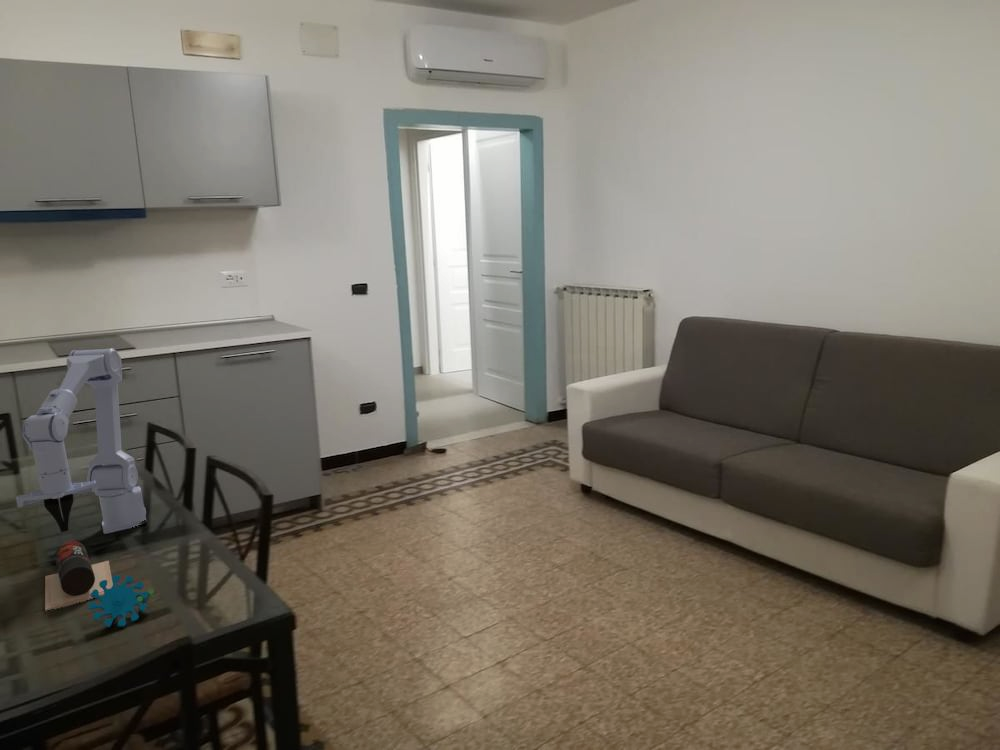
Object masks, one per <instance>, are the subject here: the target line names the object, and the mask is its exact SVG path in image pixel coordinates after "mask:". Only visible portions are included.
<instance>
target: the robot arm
mask: <svg viewBox="0 0 1000 750" xmlns="http://www.w3.org/2000/svg"><path fill="white" fill-rule="evenodd" d="M122 363H123V362H122V357H121V356H120V354H119V353H118V351H117V349H115V348H113V347H110V348H106V349H105V348H104V349H103V348H101V349H100V348H99V349H81V350H78V349H73V350H71V352H70V353H69V354H68V356H67V359H66V369H67V371H66V374H65V375H64V377H63V379H62V382H61V384H60V386H59V388H57V389H53V390H51V391H50V392H49V393H48V395H47V397H46V398H45V400H44V401H43V402H42V404H41V405H40V407H39V409H38V411H36V414H31V415H30V416H29V417H28V418H26V419H25V420H24V422H23V424H22V433H21V435H22V438H23V440H24V441H25V442H26V443H27V446H28V450H29V451H30V452H32V453H33V459H34V464H35V467H36V468H35V469H36V473H37V479H38V483H39V487H40V489H39V490H35V491H31V492H29V493H25V494H20V495H16V498H15V501H16V503H17V508H23V507H25V506H28V505H33V504H38V503H42V502H43V505H44V506H43V507H44V508H45V509H46V510H47V512H49V514H50V515H51V516H52V517H53V519H54V520H55V521H56V523H57V526H58V527H59V530H60V532H61V533H64V532H67V531H69V521H70V520H69V518H70V514H71V509H72V507H73V504H74V496H75V495H81V494H86V493H94V494H95V496H98V499H99V504H100V509H101V515H102V521H101V526H102V531H103V534H104V535H106V534H111V533H116V532H120V531H124V530H129V529H132V527H133V528H136V527H135V526H137V527H139V526H138V525H140V524H139V523H140V522H142V521H144V520H146V521H147V516H146V515H147V510H146V507H145V504H144V499H143V493H142V490H141V489H142V488H141V486H139V485H138V486H136V485H137V484H138V479H139V475H138V469H137V467H136V463H135V458H134V457H133V456H131V455H130V454H129V453H127V452H124V451H123V450H122V435H121V434H122V433H121V432H122V431H121V419H120V401H119V387H118V386H119V385H118V384H119V383H120V382H122V381H123V368H122V367H123V366H122V365H123V364H122ZM86 384H87V385H89V386H90V387H91V388H93V390H94V403H95V405H94V406H95V420H96V423H95V424H96V436H97V437H96V439H97V449H98V450H97V455H95V456H94V457H93V458H92V459H91V460H90V461H89V462H88V472H87V476H86V481H83V482H72V478H71V473H70V466H69V462H68V461H69V460H68V457H67V451H66V447H65V440H64V439H65V438H66V437H67V435H68V432H69V431H68V430H69V428H68V427H69V424H70V420H69V419H70V417H71V415H72V413H73V412H74V411H75V408H77V405H78V399H77V397H76V396H77V395H78V394H79V392H80V391H81V390H82V388H83V387H84V386H85V385H86Z"/></svg>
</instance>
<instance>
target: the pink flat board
mask: <svg viewBox="0 0 1000 750" xmlns="http://www.w3.org/2000/svg"><path fill="white" fill-rule="evenodd" d="M91 566H92V569H93V572H94V576H95V582H94V585H93V586H92V588H91V589H90V590H89V591H88V592H86V593H84V594H82V595H78V596H72V595H69V594H66V593H65V592H64V591H63V589H62V587H61V583H60V579H59V574H58V572H57V573H54V574H53V573H52V574H50V575H49V574H48V575H45V577H44V578H45V579H44V583H45V585H44V589H45V590H44V591H45V592H44V602H45V603H44V610H45V612H46V611H47V610H51V609H54V610H57V608H58V609H61V607H62V608H65V607H68V606H72V605H76V603H77V604H79V602H80V603H84V602H87V601H86V600H88V601H90V599H91V600H94V599H93V598H92V597H91V596H90V594H91V593H92V591H93V590H95V589H96V590H98V592H99V595H100V596H103V595H104V590H103V589H102V588H101V587H100V586H99V583H100V582H101V581H103V580H107V586H106V588H107V589H110V588H112V586H113V580H112V578H113V576H112V572H111V567H110V561H109V560H105V561H102V562H97V563H94V564H91ZM51 611H52V610H51ZM47 612H48V611H47Z"/></svg>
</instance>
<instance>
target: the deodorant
mask: <svg viewBox="0 0 1000 750" xmlns="http://www.w3.org/2000/svg"><path fill="white" fill-rule="evenodd" d="M54 560H55V565H56V569H57V573H58V574H59V579H60V583H61V587H62V589H63V591H64V592H65V593H66V594H69V595H72V596H78V595H82V594H84V593H86V592H88V591H89V590H90V589H91V588H92V586H93V585H94V582H95V576H94V572H93V569H92V566H91V565H92V564H91V561H90V557H89V554H88V551H87V549H86V546H85V545H84V544H83V543H81V542H78V541H76V540H75V541H74V540H72V541H67V542H66V541H65V542H63V544H61V545H59V546H58V548H57V549H56V550H55V552H54Z"/></svg>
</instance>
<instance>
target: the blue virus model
mask: <svg viewBox="0 0 1000 750" xmlns="http://www.w3.org/2000/svg"><path fill="white" fill-rule="evenodd" d="M134 579H135V578H134V577H133V576H132V575H130V574H128V575H127V576H126V577H125V580H124V582H123V583H121V584H119V585H117V583H118V582H120V580H121V575H118V574H117V575H116V574H115V575H113V576H112V582H113V586H112V588H110V589H107V588H106V586H107V580H103V581H101V582H100V583H99V586H100V587H101V588H102V589H103V590H104V595H103V596H100V595H99V592H98V590H96V589H95V590H93V591H92V593H91V594H90V596H91V597H92V598H95V599H98V600H99V601H100V602H101V603H100V604H97V603H96V602H95V601H90V602H89V605H88V610H89V611H92V610H94V609H95V610H97V609H100V610H103V611H104V612H98V611H97V612H95V613H93V620H94V621H95V622H98V621H100V620H101V619H102V618H103V617H106V616H111V618H106V619H105V620H104V621H103V625H104V627H107V628H110V627H111V626H112V624H113V621H114V620H115V619H116V618H118V617H121V619H119V620H118V622H117V627H120V628H123V627H125V626H126V624H127V622H126V615H127V614H128V613H131V616H130V621H131V622H132V623H133V622H136V621H137V620H139V617H140V616H139V614H138V613H137V612H136V611H135V609H134V607H135V606H137V607H138V610H139V611H140V612H142V613H143V612H144V611H145V610H146V609H147V608H148V605H147V603H148V602H149V600H150V597H152V596H153V595H154V593H155V590H154V589H153V588H149V589H148V590H147V591H143V592H136V591H134V590H143V589H144V583H143V582H142V581H141V580H140V581H138V582H137V583H135V584H134V585H131V586H130V585H129V586H127V584H131V583H133V582H134Z"/></svg>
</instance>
